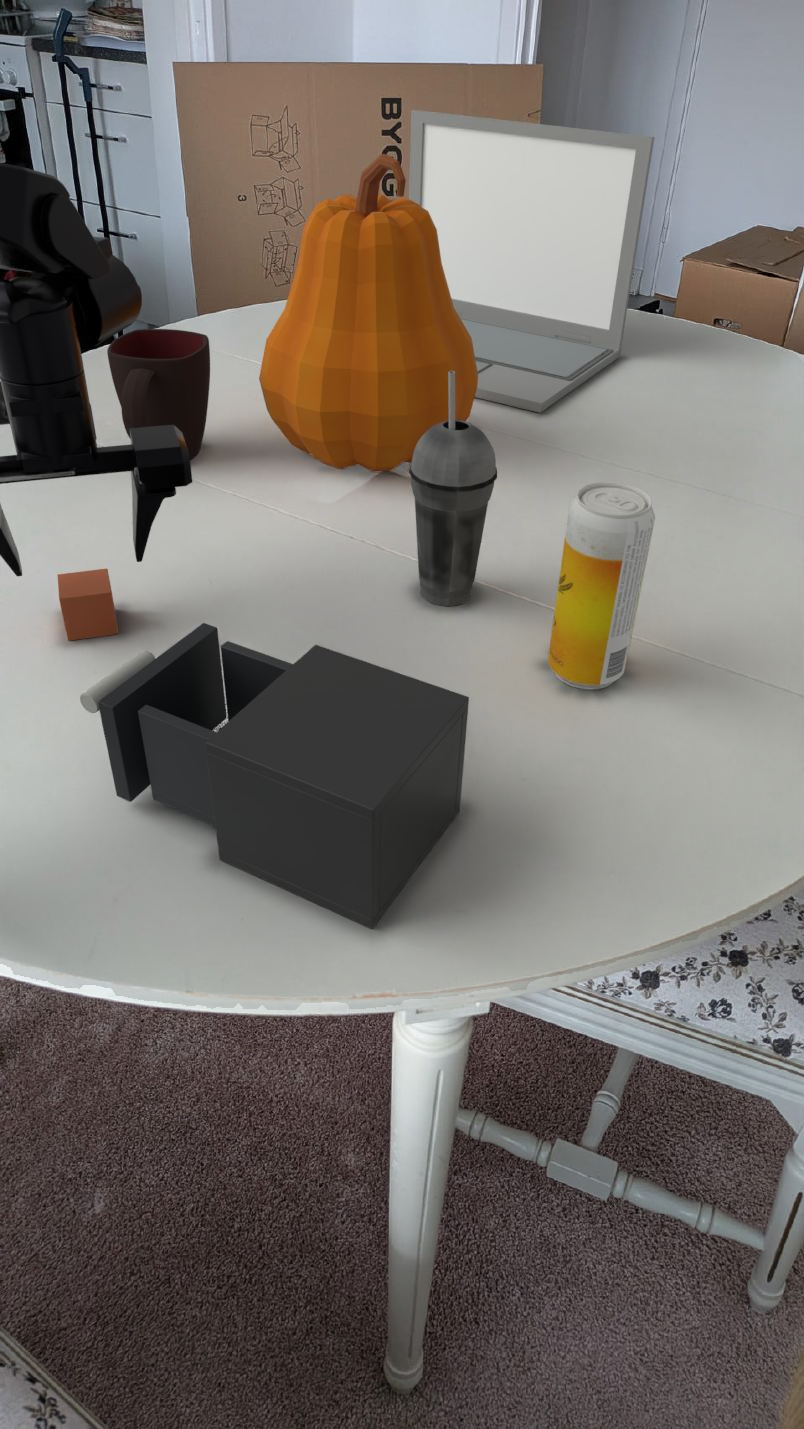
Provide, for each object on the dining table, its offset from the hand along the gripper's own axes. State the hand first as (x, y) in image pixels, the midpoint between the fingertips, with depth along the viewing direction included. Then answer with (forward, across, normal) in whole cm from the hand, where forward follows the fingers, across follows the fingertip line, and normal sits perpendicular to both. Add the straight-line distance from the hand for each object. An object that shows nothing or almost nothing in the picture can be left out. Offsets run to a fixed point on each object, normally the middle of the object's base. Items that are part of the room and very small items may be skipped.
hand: (80, 566), depth 80 cm
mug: (+6, -10, -32) cm, 34 cm away
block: (+6, 0, 0) cm, 6 cm away
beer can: (+6, -37, +17) cm, 41 cm away
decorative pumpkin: (+6, -32, -30) cm, 44 cm away
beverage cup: (+6, -30, +2) cm, 31 cm away
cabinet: (+6, -14, +30) cm, 33 cm away
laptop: (+6, -54, -56) cm, 78 cm away
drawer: (+5, -6, +21) cm, 23 cm away
